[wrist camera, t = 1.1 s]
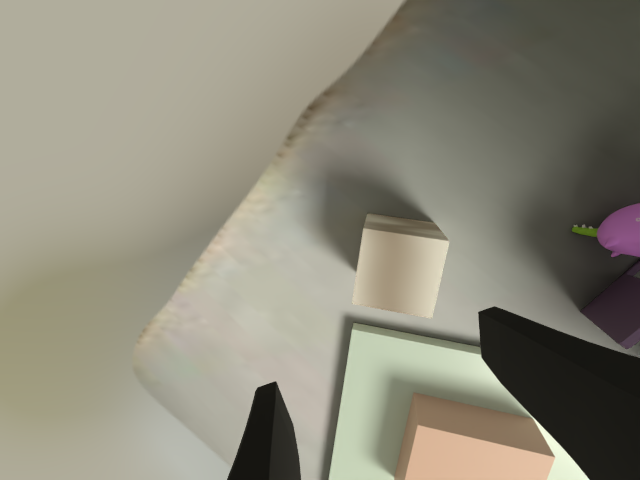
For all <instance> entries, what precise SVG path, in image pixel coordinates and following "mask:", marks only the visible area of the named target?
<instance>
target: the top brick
mask: <svg viewBox="0 0 640 480" xmlns="http://www.w3.org/2000/svg"><path fill="white" fill-rule="evenodd" d="M448 246H449V240H448V239H447V237H446V236H445V235H444V234H443V232H442V231H441V230H440V229H439V228H438V226H437V225H436V224H435V223H433V222H426V221H419V220H412V219H405V218H398V217H391V216H384V215H377V214H370V213H367V216H366V220H365V224H364V227H363V233H362V240H361V247H360V253H359V260H358V266H357V273H356V279H355V286H354V293H353V299H352V304H356V305H361V306H367V307H372V308H378V309H383V310H388V311H394V312H399V313H404V314H410V315H415V316H421V317H426V318H431V319H432V316H433V312H434V307H435V303H436V299H437V294H438V290H439V285H440V281H441V277H442V272H443V268H444V263H445V259H446V255H447V250H448Z"/></svg>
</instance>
